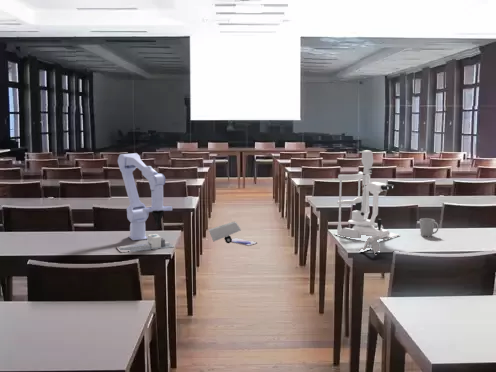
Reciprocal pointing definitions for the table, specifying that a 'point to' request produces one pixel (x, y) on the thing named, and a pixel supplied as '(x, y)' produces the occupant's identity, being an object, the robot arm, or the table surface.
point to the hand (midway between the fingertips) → (157, 225)
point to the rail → (145, 246)
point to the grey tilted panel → (224, 231)
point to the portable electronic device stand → (373, 243)
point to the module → (154, 240)
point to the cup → (427, 226)
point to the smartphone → (243, 242)
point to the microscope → (364, 204)
